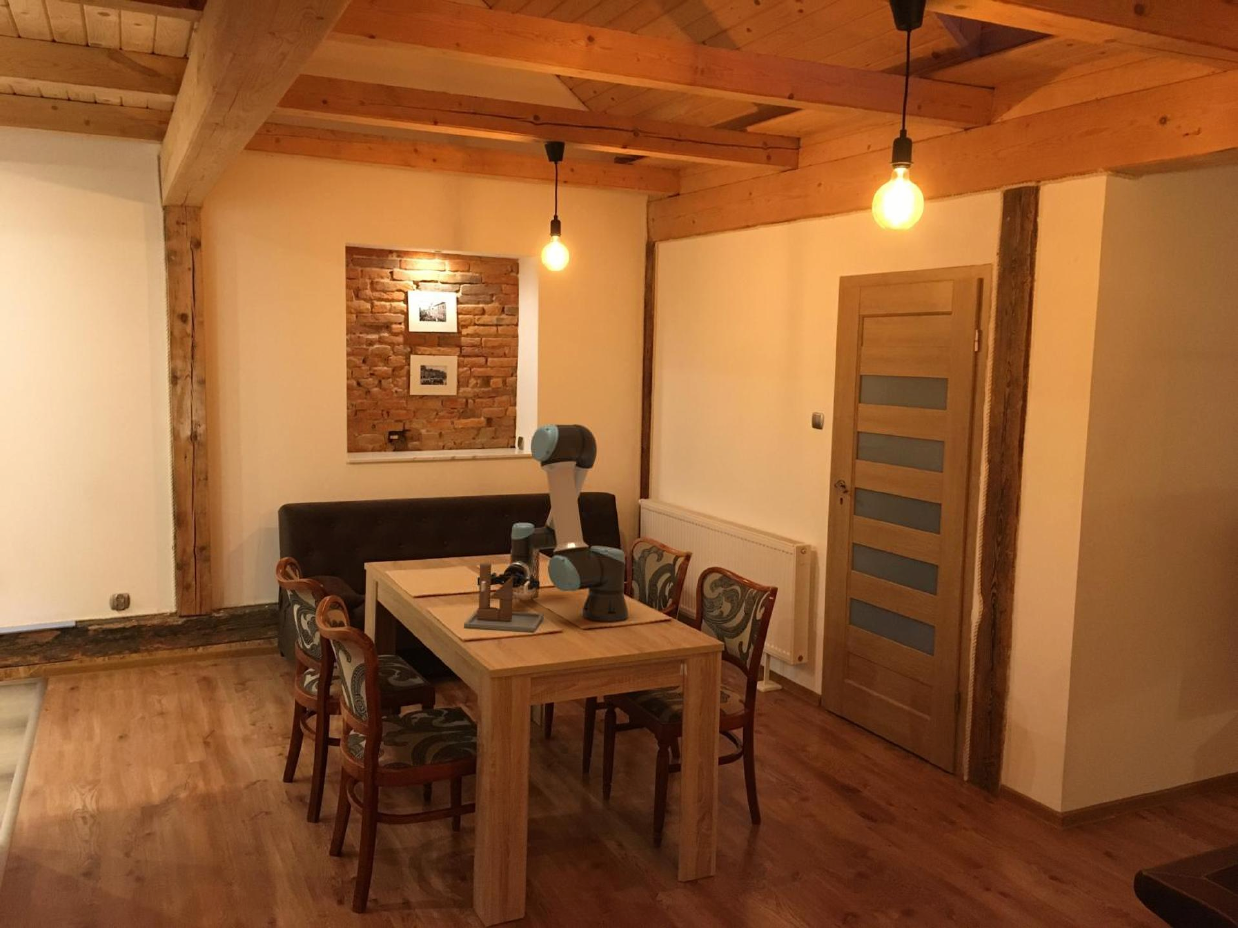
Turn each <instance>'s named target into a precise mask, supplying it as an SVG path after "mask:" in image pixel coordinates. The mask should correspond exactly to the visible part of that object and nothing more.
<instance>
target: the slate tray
mask: <svg viewBox="0 0 1238 928" xmlns="http://www.w3.org/2000/svg"><path fill="white" fill-rule="evenodd" d="M543 620H544V613H535V612H533V613H532V612H520V611H519V612H517V611H512V619H511V621H510V622H505V621H492V620H478V619H477V609H476V611H474V612H473V613H472V615H470V616H469V618H468V619H466V621H465V622H464V623H463V629H473V630H490V631H502V632H516V633H517V632H521V633H535V632H536V630H537V628H538V627H539V625H540V624H541V623H542V621H543Z"/></svg>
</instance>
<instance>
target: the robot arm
mask: <svg viewBox="0 0 1238 928" xmlns="http://www.w3.org/2000/svg"><path fill="white" fill-rule="evenodd" d="M530 452H531V455H532V457H533V459H534V460H535V461H537V462H538V463H540V468H541V470H543V471H544V472H545V473H546V479H547V485H548V493H549V498H550V499H549V500H550V506H551V507H550V511H549V514H548V517H547V520H546V522H545V524H544V527H535V526H534V524H532V523H529V522H517V523H514V524H513V525H512V528H511V529H512V530H511V555H510V565H509V566H508V567H507V568H506V569H505V570H504V571H503V573H500V574H498V573H496V572H491V586H495V585H500V586H502V585H503V584H505V583H506V582H507V581H508V580H509V579H510V578H511V577H512V576H513V589H516V588H517V589H518V588H521V587H523V594H524V595H526V594H527V593H529V591H532V590H534V589H536V590H540V586H541V585H540V582H541V581H540V580H539V579H537V578H536V577H535V575H534V574H533V573H534V571H535V567H536V565H535V562H534V551H538V550H545V549H553V550H552V551H553V552H552V554H553V556H552V557H550V560H548V565H547V573H548V577H549V579H550V581H551V583H552V585H553V586H554V587H555V588H556V589H558V591H562V592H576V591H580V590H587V589H588V593H587V596H586V599H585V602H584V604H583V607H582V617H583V618H585V619H587V620H590V621H594V622H595V621H596V622H604V623H605V622H606V623H607V622H608V623H609V622H611V623H612V622H621V621H624V620H627V619H628V617H629V607H628V605H627V602H626V599H625V595H624V593H625V592H624V590H625V569H626V555H625V552H624V551H623V550H621V549H619V548H614V547H609V546H603V545H591V546H590V548H589V545H588V544H587V543H586V542H585V541H584V539H583V538H584V537H583V532H582V525H581V518H580V510H579V504H578V503H579V502H578V498H579V497H580V493H581V491H582V488H583V485H584V482H585V480H586V477H587V475H588V472H589V470H591V469H592V468H593V467H594V464H595V462H596V460H597V454H598V453H597V452H598V446H597V441H596V437H595V436H594V434H593V432H592V431H591V430H590V429H589V428H588V427H586V426H584V425H582V424H576V423H575V424H546V425H542V426H539V427H538V428H537V429H535V431H534V433H533V435H532V437H531V442H530ZM479 581H480V576H479V577H477V586H479ZM485 585H486V581H483V582H482V583H481V591H484V590H485Z"/></svg>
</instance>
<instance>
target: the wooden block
mask: <svg viewBox="0 0 1238 928" xmlns="http://www.w3.org/2000/svg"><path fill="white" fill-rule="evenodd" d="M491 574H492V564H491V563H490V562H482V563H480V564H479V577H480V581H479V585H478V587H479V588H478V590H479V593H478V608H477V609H476V610H477V619H478V620H492V621H505V622H510V621H511V619H512V612H513V602H514V601H513V599H514V598H513V595H514V588H513V576H512V577H511V578H510V579H509V580H508V581H507V582H506V583H505V584H503V585H500V587H499V588H498V589H497V590H496V591H494V593H493V594H491V590H492V588H491V586H492V585H491ZM483 581H486V585H485V590H484V591H481V583H482V582H483ZM491 599H492V600H499V607H496V606H493V607H492V606H491Z"/></svg>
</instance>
